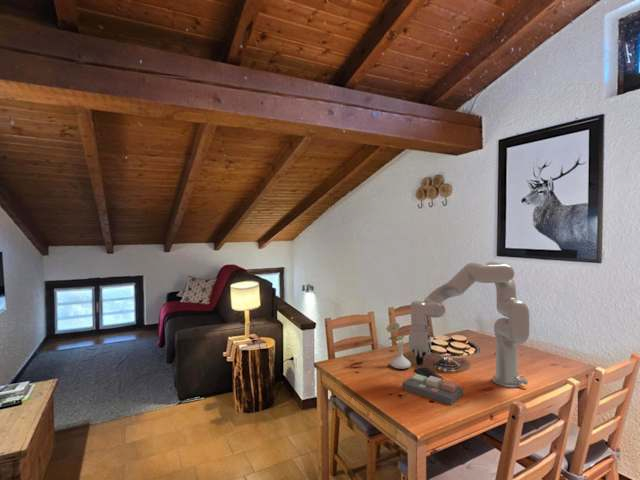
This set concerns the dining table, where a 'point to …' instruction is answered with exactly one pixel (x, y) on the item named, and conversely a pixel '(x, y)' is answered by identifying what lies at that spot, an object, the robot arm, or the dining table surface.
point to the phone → (426, 372)
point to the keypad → (432, 391)
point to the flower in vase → (399, 359)
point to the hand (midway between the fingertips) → (419, 364)
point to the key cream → (434, 381)
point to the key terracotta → (450, 386)
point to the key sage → (419, 378)
